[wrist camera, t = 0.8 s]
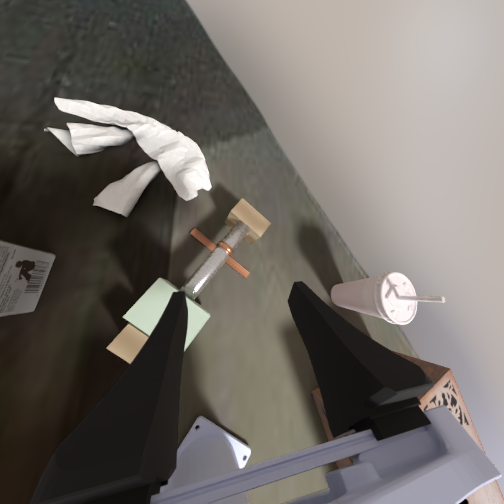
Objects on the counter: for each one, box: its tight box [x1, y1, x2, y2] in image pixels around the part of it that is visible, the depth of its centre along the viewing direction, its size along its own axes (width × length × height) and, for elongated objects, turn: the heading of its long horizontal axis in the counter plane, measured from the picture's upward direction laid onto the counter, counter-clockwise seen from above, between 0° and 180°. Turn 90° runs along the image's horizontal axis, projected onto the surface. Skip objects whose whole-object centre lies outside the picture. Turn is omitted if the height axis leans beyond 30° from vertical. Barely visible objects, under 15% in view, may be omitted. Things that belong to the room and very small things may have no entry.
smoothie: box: [331, 272, 445, 325], centre depth 25 cm, size 6×6×14 cm
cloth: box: [44, 98, 211, 217], centre depth 24 cm, size 20×22×2 cm
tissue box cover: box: [312, 351, 504, 504], centre depth 24 cm, size 26×14×10 cm, turn 19°
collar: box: [123, 277, 211, 351], centre depth 19 cm, size 4×6×7 cm
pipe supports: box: [107, 198, 271, 364], centre depth 22 cm, size 21×10×4 cm, turn 143°
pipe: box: [144, 221, 250, 337], centre depth 21 cm, size 21×2×2 cm, turn 143°
